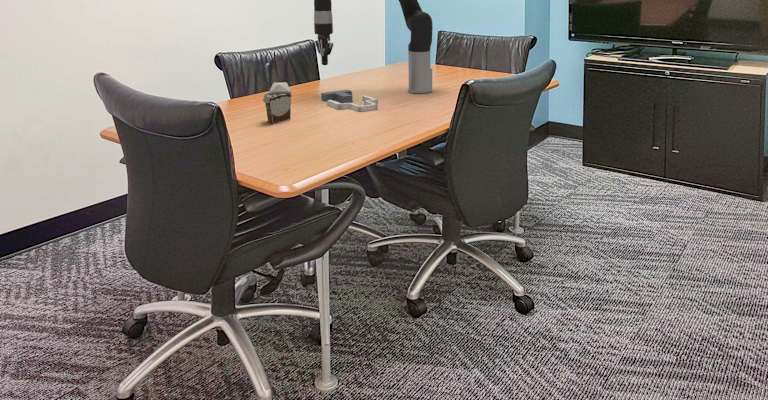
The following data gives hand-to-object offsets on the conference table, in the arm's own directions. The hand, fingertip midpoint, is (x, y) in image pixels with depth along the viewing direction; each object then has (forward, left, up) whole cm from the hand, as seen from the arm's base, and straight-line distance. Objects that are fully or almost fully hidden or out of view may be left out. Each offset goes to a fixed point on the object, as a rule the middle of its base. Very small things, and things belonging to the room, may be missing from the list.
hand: (324, 64), depth 313 cm
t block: (0, +14, -13) cm, 19 cm away
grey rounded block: (+22, +4, -13) cm, 26 cm away
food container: (+36, +33, -13) cm, 50 cm away
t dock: (0, +28, -13) cm, 31 cm away
